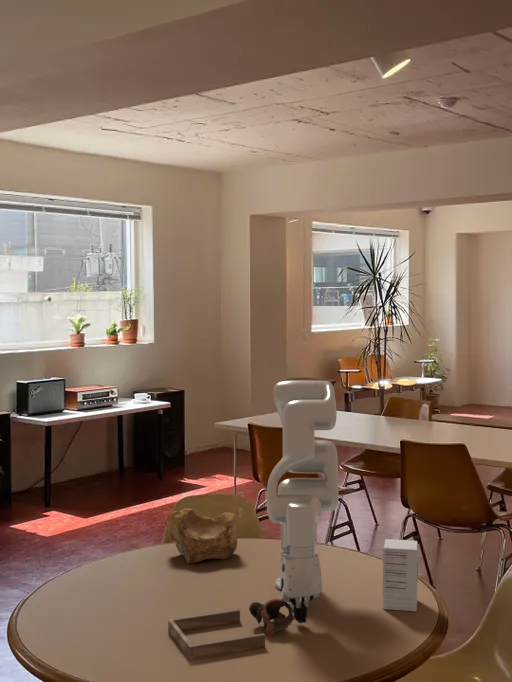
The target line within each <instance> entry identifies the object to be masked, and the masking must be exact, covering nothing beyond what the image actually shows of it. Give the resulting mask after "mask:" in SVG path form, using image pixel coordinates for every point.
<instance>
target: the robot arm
mask: <svg viewBox="0 0 512 682" xmlns="http://www.w3.org/2000/svg"><path fill="white" fill-rule="evenodd" d="M335 392H336V391H335V387H334V385H333V384H332V382H330V381H328V380H301V379H300V380H299V379H298V380H283V381H279V382H277V383H276V384H275V385H274V387H273V400H274V404H275V405H274V406H275V408H276V411H277V413H278V417H279V418H280V422H281V425H282V458H281V459H280V460H279V461H278V462H277V464H276V465H275V466H274V467H273V468H272V471H271V473H270V474H269V478H268V480H267V487H266V513H267V518H269V519H268V520H269V521H271V522H272V523H273V524H280V567H279V570H280V577H279V578H277V579H276V580H275V587H276V588H277V589H278V590H280V600H282V601H284V602H287V603H289V602H291V603H292V604H293V605H294V611H293V616H294V620H295V621H296V622H297V623H298V624H303V623H304V624H305V623H306V622H307V617H308V609H307V607H310V603H311V601H312V600H313V599H315V598H318V597H320V596H321V593H322V591H323V579H322V570H321V569H322V568H321V562H320V557H319V555H318V554H317V553H316V523H317V521H318V520H319V518H321V515H322V513H323V512H333V511H335V510H336V509H337V507H338V505H339V457H338V456H339V455H338V451H337V446H336V444H334V442H332V441H330V440H325V439H324V440H323V439H321V440H320V439H319V440H317V439H315V431H331V430H333V429H334V428H335V427H336V423H337V417H338V416H337V402H336V393H335ZM287 472H288V473H292V474H320V475H321V476H322V477H321V478H320V477H290V478H286V479H284V480H282V481H280V480H281V478H282V477H283V475H285V474H286V473H287ZM279 481H280V483H279ZM300 597H301V599H300Z"/></svg>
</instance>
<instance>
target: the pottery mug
mask: <svg viewBox="0 0 512 682" xmlns="http://www.w3.org/2000/svg"><path fill="white" fill-rule="evenodd" d="M283 607H285V608H286V609H287V610H288V614H287V615H285V614H284V613H282V612H281V611H280V610H281V608H283ZM248 610H249V613H250V615H251V616H252V617H253V618H254V619H255V620H256V621H257V624H261V622H263V623H264V624H266V627H265V633H266V634H268V635H269V636H270V635H272V634H273V632H274V633H275V632H279V631H282V630H284V629H288V628H289V626H290V625H291V624H292V623H293V621H294V620H295V618H294V613H293V611H292V609H291V606H290V605H289V602H284V601H282V600H281V599H278V598H273V599H270V600H268V601H266V602H265V604H263V603H260V602H257V601H255V602H252V603H250V606H249V607H248ZM271 620H273V621H271Z"/></svg>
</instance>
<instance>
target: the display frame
mask: <svg viewBox="0 0 512 682" xmlns="http://www.w3.org/2000/svg"><path fill="white" fill-rule="evenodd" d="M167 623H168V624H167V631H168V633H169V635H170V636H171V637H172V638H173V639H174V641H175V643H176V644H177V645H178V646H179V648H180V649H181V651H183V653H184V654H185V656H186V657H187V659H188V660H189V661H191V660H192V661H193V660H196V659H204V658H209V657H214V656H220V655H227V654H232V653H237V652H239V653H240V652H244V651H251V650H255V649H261V647H263V648H266V634H265V633H264V632H263V633H258V634H250V635H245V636H238V637H234V638H227V639H226V638H225V639H220V640H214V641H207V642H202V643H197V644H195V643H194V644H192V642H191V641H190V639H188V637H187V636H186V635H185V634H184V631H189V630H190V631H191V630H196V629H202V628H208V627H209V628H210V627H215V626H221V625H229V624H235V623H241V610H240V608H237V609H231V610H223V611H222V610H221V611H218V612H217V611H215V612H210V613H205V614H204V613H203V614H196V615H191V616H190V615H189V616H183V617H178V618H170V619H168V620H167Z"/></svg>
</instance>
